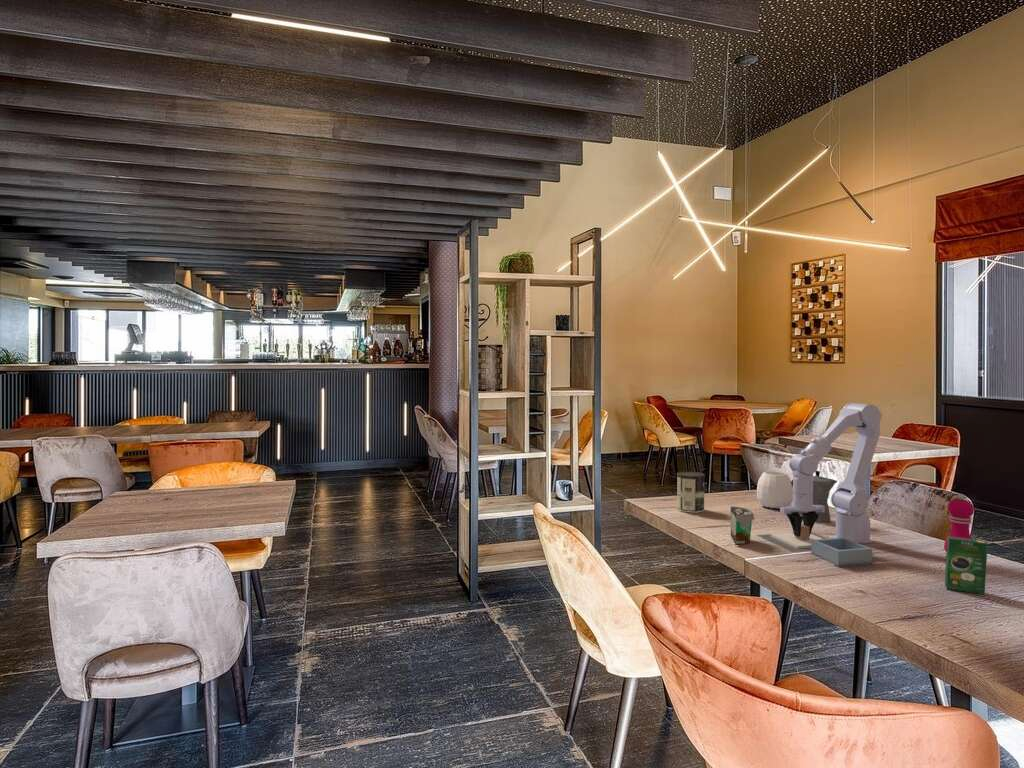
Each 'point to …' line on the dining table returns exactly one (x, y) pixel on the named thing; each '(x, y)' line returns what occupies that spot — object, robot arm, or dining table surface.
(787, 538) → the lid
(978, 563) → the coffee box
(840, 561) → the dish
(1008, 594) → the dining table surface
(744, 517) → the food container
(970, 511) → the pepper mill
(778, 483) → the white vase
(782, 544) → the mat
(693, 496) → the coffee can
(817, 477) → the coffeepot
